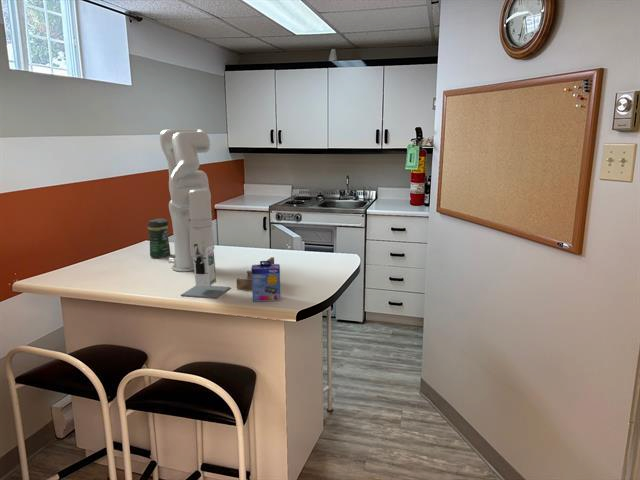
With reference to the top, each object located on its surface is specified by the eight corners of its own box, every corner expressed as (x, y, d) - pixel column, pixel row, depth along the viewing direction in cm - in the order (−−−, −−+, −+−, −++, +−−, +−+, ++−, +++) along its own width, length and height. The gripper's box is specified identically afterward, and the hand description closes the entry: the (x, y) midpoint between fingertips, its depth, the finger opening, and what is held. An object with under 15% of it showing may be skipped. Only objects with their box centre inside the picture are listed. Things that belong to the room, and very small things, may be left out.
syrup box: (210, 286, 171) (207, 248, 168) (195, 286, 172) (192, 247, 169) (216, 282, 176) (214, 244, 173) (201, 281, 177) (199, 244, 174)
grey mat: (181, 296, 171) (180, 294, 171) (197, 286, 182) (197, 284, 182) (216, 298, 167) (216, 297, 167) (230, 288, 179) (230, 286, 179)
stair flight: (237, 289, 177) (235, 263, 175) (248, 280, 188) (247, 256, 186) (264, 291, 175) (263, 265, 173) (275, 281, 186) (274, 257, 183)
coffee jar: (161, 259, 224) (158, 220, 220) (147, 258, 226) (143, 220, 222) (173, 254, 233) (170, 217, 229) (159, 253, 235) (156, 216, 231)
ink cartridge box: (252, 302, 163) (250, 262, 160) (253, 297, 168) (251, 258, 165) (280, 301, 164) (279, 261, 161) (280, 296, 169) (279, 257, 166)
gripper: (203, 219, 178) (206, 264, 182) (179, 227, 162) (183, 277, 166) (221, 219, 176) (224, 265, 180) (199, 227, 160) (203, 278, 164)
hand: (204, 270), depth 173 cm, fingers closed on syrup box, 5 cm apart
